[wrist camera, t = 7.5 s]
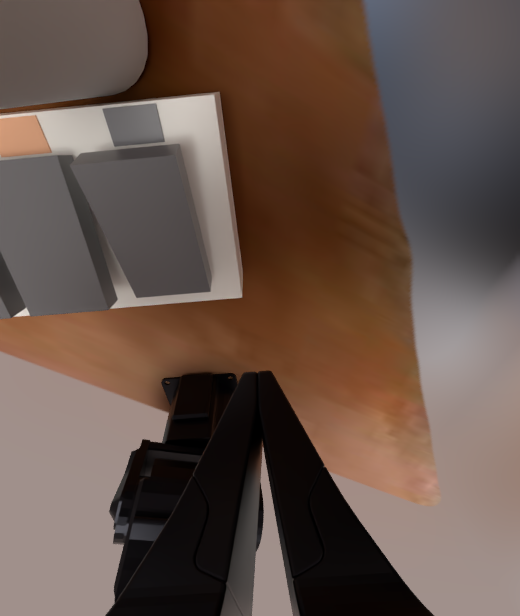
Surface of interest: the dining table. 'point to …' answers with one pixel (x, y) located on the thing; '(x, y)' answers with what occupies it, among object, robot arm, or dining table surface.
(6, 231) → the block
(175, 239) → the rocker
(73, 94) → the beverage can
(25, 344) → the dining table surface
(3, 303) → the block
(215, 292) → the rocker switch panel
